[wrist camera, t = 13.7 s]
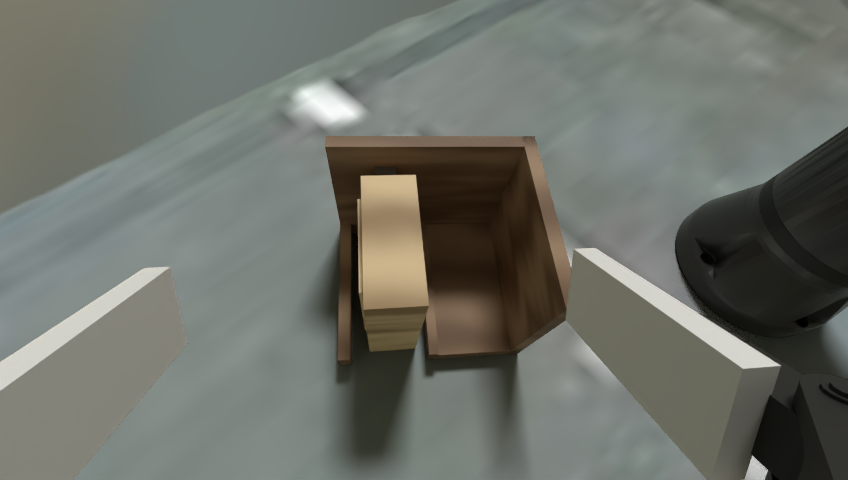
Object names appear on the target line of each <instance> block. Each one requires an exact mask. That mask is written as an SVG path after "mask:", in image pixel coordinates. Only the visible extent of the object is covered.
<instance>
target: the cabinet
mask: <svg viewBox="0 0 848 480" xmlns="http://www.w3.org/2000/svg"><path fill="white" fill-rule="evenodd" d="M325 148H326V153H327V158H328V163H329V168H330V173H331V178H332V184H333V189H334V194H335V199H336V204H337V209H338V214H339V219H340V269H339V316H338V362H339V364H340V365H347V364H352V234H358V201H357V199H361V176H378V175H416V182H417V192H418V202H419V212H420V222H421V232H422V241H423V251H424V261H425V271H426V281H427V291H428V301H429V307H428V310H427V314H426V317H425V320H424V329H425V341H426V354H427V359H439V358H454V357H469V356H485V355H500V354H515V353H519V352H520V351H522V350H523V349H525V348H526V347H527V346H529V345H530V344H532V343H533V342H535V341H536V340H538V339H539V338H541V337H542V336H543V335H545V334H546V333H548V332H549V331H551V330H552V329H554V328H555V327H556V326H558V325H559V324H561V323H562V322H564V321H565V319H566V311H567V302H568V293H569V285H570V276H571V267H570V263H569V260H568V256H567V252H566V249H565V245H564V241H563V238H562V234H561V231H560V227H559V223H558V220H557V216H556V212H555V209H554V205H553V201H552V198H551V194H550V191H549V187H548V183H547V180H546V176H545V172H544V169H543V165H542V162H541V158H540V154H539V151H538V147H537V143H536V140H535V137H507V136H326V142H325Z"/></svg>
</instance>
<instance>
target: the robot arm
mask: <svg viewBox="0 0 848 480" xmlns="http://www.w3.org/2000/svg"><path fill="white" fill-rule="evenodd" d="M676 251H677V257H678V261H679V264H680V267H681V269H682V271H683V273H684V275H685V277H686V279H687V281H688V283H689V284H690V286H691V287H692V288H693V290H694V291H695V292H696V294H697V295H698V296H699V297H700V298H701V299H702V301H703V302H704V303H705V304H706V305H707V306H709V307H710V308H711V309H712V310H713V311H714V312H716V313H717V314H718V315H719V316H721V317H722V318H724V319H725V320H727V321H728V322H730V323H732V324H733V325H735V326H737V327H739V328H741V329H744V330H746V331H749V332H751V333H754V334H758V335H762V336H768V337H787V336H791V335H795V334H799V333H803V332H806V331H810V330H813V329H816V328H818V327H820V326H822V325H824V324H825V323H827V322H828V321H829V320H831V319H832V318H833V317H834V316H836V315H837V314H838V313H840V312H841V311H842V310H844V309H845V308H846V307H848V127H847V128H845V129H844V130H842V131H841V132H839V133H838V134H836V135H835V136H833V137H832V138H830V139H829V140H827V141H826V142H824V143H823V144H822V145H820V146H819V147H817V148H816V149H814V150H813V151H811V152H810V153H808V154H807V155H805V156H804V157H802V158H801V159H799V160H798V161H796V162H795V163H793V164H792V165H790V166H789V167H787V168H786V169H785V170H783V171H782V172H780V173H779V174H777V175H776V176H774V177H773V178H772V179H770V180H769V181H767V182H765V183H764V184H761V185H758V186H754V187H751V188H748V189H745V190H742V191H739V192H735V193H732V194H729V195H726V196H723V197H720V198H717V199H714V200H711V201H709V202H707V203H705V204H704V205H702V206H701V207H699V208H698V209H697V210H695V211H694V212H693V213H691V214H690V215H689V216H688V217H687V218H686V219H685V220H684V221H683V222H682V224H681V226H680V228H679V230H678V233H677V238H676ZM565 320H566V321H567V322H568V324H569V325H570V326H571V327H572V328H573V329H574V330H575V331H576V333H577V334H578V335H579V336H580V337H581V338H582V339H583V340H584V342H585V343H586V344H587V345H588V346H589V347H590V348H591V349H592V351H593V352H594V353H595V354H596V355H597V356H598V357H599V358H600V360H601V361H602V362H603V363H604V364H605V365H606V366H607V367H608V369H609V370H610V371H611V372H612V373H613V374H614V375H615V376H616V378H617V379H618V380H619V381H620V382H621V383H622V384H623V385H624V387H625V388H626V389H627V390H628V391H629V392H630V393H631V395H632V396H633V397H634V398H635V399H636V400H637V401H638V402H639V404H640V405H641V406H642V407H643V408H644V409H645V410H646V411H647V413H648V414H649V415H650V416H651V417H652V418H653V419H654V420H655V422H656V423H657V424H658V425H659V426H660V427H661V428H662V429H663V431H664V432H665V433H666V434H667V435H668V436H669V437H670V438H671V440H672V441H673V442H674V443H675V444H676V445H677V446H678V447H679V449H680V450H681V451H682V452H683V453H684V454H685V455H686V456H687V458H688V459H689V460H690V461H691V462H692V463H693V464H694V465H695V467H696V468H697V469H698V470H699V471H700V472H701V473H702V475H703V476H704V477H705V478H706V479H707V480H742V479H745V476H746V473H747V469H748V466H749V463H750V460H751V457H752V455H753V456H754V457H755V458H756V459H757V460H758V461H759V462H760V463H761V464H762V465H764V466H765V467H766V468H767V469H768V473H767V475H766V478H765V480H848V379H845V378H842V377H839V376H834V375H829V374H823V373H808V374H805V375H803V374H801V373H800V372H798V371H796V370H795V369H793V368H792V367H790V366H788V365H787V364H785V363H784V362H782V361H780V360H779V359H777V358H776V357H774V356H772V355H771V354H769V353H767V352H766V351H764V350H763V349H761V348H759V347H758V346H756V345H755V344H753V343H748V340H747V339H745V338H743V337H742V336H740V335H738V334H737V333H733V331H732V330H730V329H729V328H727V327H726V326H724V325H722V324H721V323H719V322H718V321H716V320H714V319H712V318H709V317H707V316H704V315H702V314H699V313H697V312H695V311H694V310H692V309H691V308H689V307H687V306H686V305H684V304H683V303H681V302H680V301H678V300H676V299H675V298H673V297H672V296H670V295H668V294H667V293H665V292H664V291H662V290H661V289H659V288H657V287H656V286H654V285H653V284H651V283H650V282H648V281H646V280H645V279H643V278H642V277H640V276H638V275H637V274H635V273H634V272H632V271H631V270H629V269H627V268H626V267H624V266H623V265H621V264H619V263H618V262H616V261H615V260H613V259H612V258H610V257H608V256H607V255H605V254H604V253H602V252H601V251H599V250H597V249H596V248H583V249H574V251H573V259H572V268H571V276H570V285H569V293H568V302H567V311H566V319H565ZM187 344H188V342H187V338H186V334H185V329H184V325H183V320H182V316H181V312H180V307H179V303H178V299H177V294H176V290H175V285H174V281H173V277H172V272H171V268H170V267H157V268H144V269H142V270H141V271H139V272H137V273H136V274H134V275H133V276H131V277H130V278H128V279H127V280H125V281H124V282H122V283H121V284H119V285H118V286H116V287H114V288H113V289H111V290H110V291H108V292H107V293H105V294H104V295H102V296H101V297H99V298H98V299H96V300H95V301H93V302H92V303H90V304H88V305H87V306H85V307H84V308H82V309H81V310H79V311H78V312H76V313H75V314H73V315H72V316H70V317H69V318H67V319H66V320H64V321H62V322H61V323H59V324H58V325H56V326H55V327H53V328H52V329H50V330H49V331H47V332H46V333H44V334H43V335H41V336H40V337H38V338H36V339H35V340H33V341H32V342H30V343H29V344H27V345H26V346H24V347H23V348H21V349H20V350H18V351H17V352H15V353H14V354H12V355H10V356H9V357H7V358H6V359H4V360H3V361H1V362H0V480H74V479H75V477H76V476H77V475H78V474H79V473H80V471H81V470H82V469H83V468H84V467H85V465H86V464H87V463H88V462H89V461H90V459H91V458H92V457H93V456H94V455H95V454H96V452H97V451H98V450H99V449H100V448H101V446H102V445H103V444H104V443H105V442H106V440H107V439H108V438H109V437H110V436H111V434H112V433H113V432H114V431H115V430H116V429H117V427H118V426H119V425H120V424H121V423H122V421H123V420H124V419H125V418H126V417H127V415H128V414H129V413H130V412H131V411H132V409H133V408H134V407H135V406H136V405H137V404H138V402H139V401H140V400H141V399H142V398H143V396H144V395H145V394H146V393H147V392H148V390H149V389H150V388H151V387H152V386H153V384H154V383H155V382H156V381H157V380H158V379H159V377H160V376H161V375H162V374H163V373H164V371H165V370H166V369H167V368H168V367H169V365H170V364H171V363H172V362H173V361H174V359H175V358H176V357H177V356H178V355H179V354H180V352H181V351H182V350H183V349H184V348H185V346H186V345H187Z"/></svg>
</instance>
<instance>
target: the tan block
mask: <svg viewBox="0 0 848 480" xmlns="http://www.w3.org/2000/svg"><path fill="white" fill-rule="evenodd" d="M357 201H358V263H359V296H360V303H361V309H362V315H363V321H364V327H365V330H367V336H368V343H369V350H370V352H373V351H386V350H400V349H413V348H416V344H417V341H418V338H419V335H420V332H421V329H422V326H423V323H424V320H425V317H426V314H427V310H428V307H429V301H428V291H427V281H426V271H425V261H424V251H423V241H422V232H421V222H420V212H419V202H418V192H417V182H416V175H378V176H361V199H357Z"/></svg>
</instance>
